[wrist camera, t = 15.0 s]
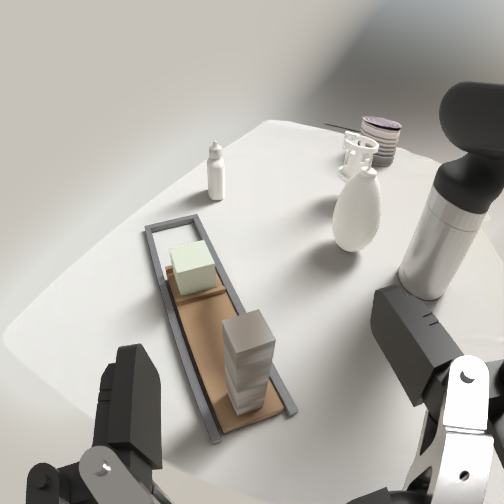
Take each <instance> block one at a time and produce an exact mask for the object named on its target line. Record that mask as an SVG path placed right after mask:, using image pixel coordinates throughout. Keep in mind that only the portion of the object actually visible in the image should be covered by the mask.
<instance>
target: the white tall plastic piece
mask: <svg viewBox="0 0 504 504" xmlns="http://www.w3.org/2000/svg"><path fill="white" fill-rule="evenodd" d="M355 139H357V140H358V141H361V142H360V146H358V145H355V144H353V143H351V142H350V141H349V140H355ZM366 143H368V144H370V145H372V146H373V148H368V147H366V146H365V144H366ZM343 149H347V151H346V153H345V159H344V164H343V166H341V167H340V168H339V170H338V177H339V178H340V179H341V180H342V181H344V182H346V184H347V183H348V182H349V181H350V179H351V178H352V177H353V176H354V175H356V174H357V173H359V172H360V169H361V167H365V166H366V167H368V165H369V161H370V158H371V155H372V154H374V153H377V152H378V149H379V144H378V143H377V142H376V141H374V140H373V139H371V138H368V137H365V136H361V135H359V134H358V133H352V132H349V131H346V132H345V137H344V143H343ZM346 184H345V186H346Z"/></svg>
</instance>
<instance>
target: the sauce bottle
mask: <svg viewBox="0 0 504 504" xmlns="http://www.w3.org/2000/svg"><path fill="white" fill-rule="evenodd" d="M372 160H373V154H372V155H371V158H370V161H369V165H368V167H366V166H365V167H361V169H360V172H359V173H357V174H356V175H354V176H353V177H352V178H351V179H350V181H349V182H348V183H347V184H346V186H345V187H344V189H343V190H342V192H341V194H340V196H339V198H338V200H337V202H336V205H335V208H334V212H333V219H332V229H333V235H334V238H335V241H336V243H337V244H338V246H340V247H341V248H342V249H343V250H345V251H348V252H355V251H360V250H362V249H364V248H365V247H366V246H367V245H368V244H369V243H370V242H371V241H372V239H373V238H374V236H375V234H376V232H377V230H378V227H379V224H380V219H381V213H382V197H381V190H380V186H379V183H378V180H377V178H376V175H377V173H376V171H375V170H374V169H373V168H371V165H372Z"/></svg>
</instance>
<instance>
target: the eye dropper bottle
mask: <svg viewBox="0 0 504 504" xmlns="http://www.w3.org/2000/svg"><path fill="white" fill-rule="evenodd" d="M207 173H208V194H209V197H210V198H211V199H212V200H214V201H215V200H223V199H224V197H225V162H224V159H223V158H222V147H221V146H219V145H218V142H217V140H214V141H213V146H211V147H209V158H208V161H207Z"/></svg>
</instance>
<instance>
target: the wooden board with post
mask: <svg viewBox="0 0 504 504" xmlns="http://www.w3.org/2000/svg"><path fill="white" fill-rule="evenodd" d="M165 269H166V274H167V278H168V282H169V285H170V288H171V291H172V295H173V298H174V301H175V304H176V307H177V310H178V313H179V316H180V319H181V322H182V325H183V328H184V331H185V334H186V337H187V340H188V343H189V346H190V349H191V351H192V354H193V357H194V360H195V362H196V365H197V368H198V371H199V373H200V376H201V379H202V381H203V384H204V386H205V389H206V392H207V394H208V397H209V399H210V402H211V404H212V407H213V409H214V412H215V414H216V416H217V419H218V421H219V424H220V426H221V428H222V431H223V433H227V432H230V431H233V430H236V429H239V428H242V427H244V426H247V425H250V424H253V423H255V422H258V421H261V420H263V419H266V418H269V417H271V416H274V415H276V414H279V413H281V412H283V409H284V407H283V405H282V403H281V401H280V399H279V397H278V395H277V394H276V392H275V390H274V388H273V386H272V384H271V382H270V380H269V374H270V369H271V364H272V358H273V353H274V347H275V342H276V339H275V337H274V336H273V334H272V332H271V330H270V328H269V327H268V325H267V323H266V321H265V319H264V318H263V316H262V314H261V312H260V310H259V309H258V310H255V311H252V312H248V313H245V314H242V315H239V316H237V314H236V312H235V310H234V308H233V306H232V304H231V302H230V300H229V298H228V296H227V294H226V288H225V286H223V285H222V283H221V281H220V279H219V277H218V275H217V273H216V286H217V288H214V289H210V290H206V291H203V292H199V293H195V294H192V295H188V296H184V297H181V294H180V291H179V288H178V285H177V282H176V279H175V276H174V273H173V267H172V266H168V267H165ZM215 271H216V270H215Z"/></svg>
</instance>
